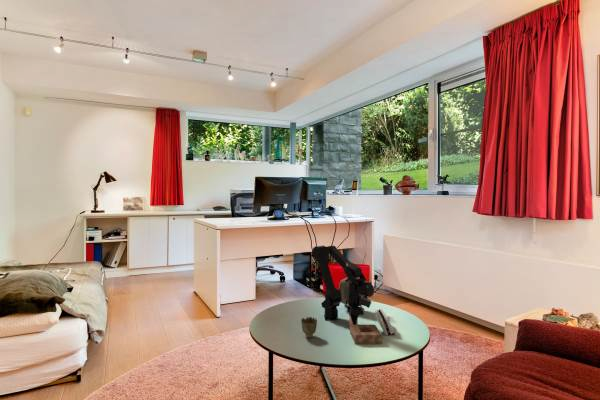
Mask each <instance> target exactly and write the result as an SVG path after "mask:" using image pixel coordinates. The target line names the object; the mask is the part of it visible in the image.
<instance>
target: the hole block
mask: <svg viewBox="0 0 600 400" xmlns="http://www.w3.org/2000/svg"><path fill="white" fill-rule="evenodd" d="M349 334H350V336H351V338H352V341H353V343H354V345H381V344H383V335H382V332H381V331H380V330H379V328H378V326H377V325H376V324H358V325H350V327H349Z"/></svg>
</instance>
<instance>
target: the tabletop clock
mask: <svg viewBox="0 0 600 400" xmlns="http://www.w3.org/2000/svg"><path fill="white" fill-rule="evenodd" d="M347 278H348V277H346V278H343V279H341V280H340V282H339V284H338V286H339V287H338V289H339V290H340V293H341V296H342V297H341V298H342V301H341V302H340V304H343V305H344V307H345V308H347V307H346V306H347V305H348V304H345V299H346V298H348V295H347V293H348V282H345V280H346V279H347ZM356 279H359V278H356ZM360 295H361V294H360ZM361 296H363V295H361ZM359 307H361V308H362V309H363V310H364V311H365V308H364V307H363V305H361V306H359Z"/></svg>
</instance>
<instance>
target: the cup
mask: <svg viewBox="0 0 600 400" xmlns="http://www.w3.org/2000/svg"><path fill="white" fill-rule="evenodd" d="M300 321H301V329H302V333H303V334H304V336H305V337H306V338H308V339H311V338H312V337H313V336H314V334H315V333H316V330H317V326H318V319H317V317H316V318H315V317H312V316H309V317H308V316H307V317H306V318H305V317H303V318H301V320H300Z"/></svg>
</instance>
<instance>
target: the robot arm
mask: <svg viewBox="0 0 600 400" xmlns="http://www.w3.org/2000/svg"><path fill="white" fill-rule="evenodd" d="M311 253H312V256H313V258H314V260H315V261H316V262H317V263H318V265H319V269H320V273H321V277H322V280H323V284H324V288H325V292H324V300H323V301H322V302H321V308H324V310H323V311H324V312H323V313H324V314H323V318H324V320H325V321H338V318H339V310H338V307H339V306H340V304H341V301H342V298H341V297H342V296H341V293H340V290H339V288H337V287H336V286H335V282H334V279H333V276H332V273H331V269H330V266H329V265H330V264H329V262H328V260H329V256H330V257H331V258H332V259H333V260H334V261H335V262H337V264H338V265H339V266H340V267H341V268H342V270H343V273H344V275H345V276H346V278H347V279H346V280H345V282H348V293H347V295H348V298H346V299H345V304H348V305H347V306H346V307H345V308H346V310H347V313H348V315H349V318H350V317H351V319H352V322H353V325H356V322H357V318H359V316H365V312H364V311H365V309H364V310H363V309H362V308H363V307H366V308H368V309H370V306H371V304H372V301H371V299H370V298H371V297H373V295H374V294H375V287H374V285H373V284H372V283H373V282H372V281H367V278H366V277H365V275H364V273H363V270H362V269H363V268H361V266H359V265H357V264H356V263H354V262H351V261H350V260H349V259H348V258H347V257H346V256H345V255H344V254H343V253H342V252H341V251H340V250H338V249H337V247H336V246H335V245H332V244H331V245H328V246H325V245H319V246H318V245H317V246H314V247H313V248H312V250H311ZM356 278H359V279H356ZM360 294H361V295H363V296H361V295H360ZM368 297H369V298H368ZM345 304H344V305H345ZM360 306H362V308H361V307H360Z"/></svg>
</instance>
